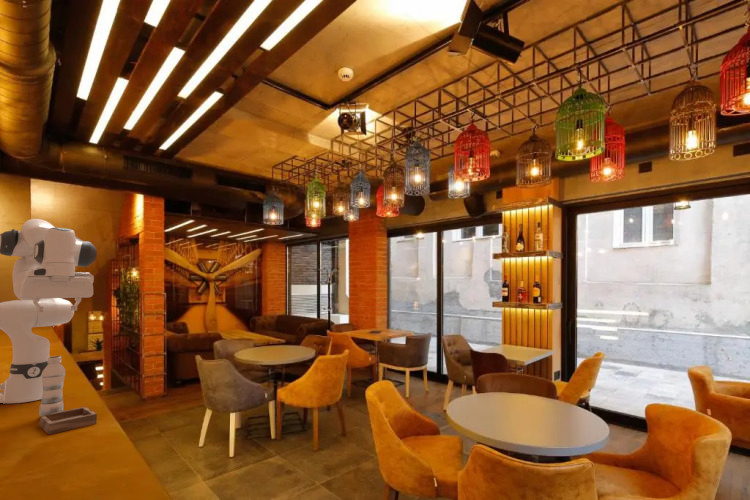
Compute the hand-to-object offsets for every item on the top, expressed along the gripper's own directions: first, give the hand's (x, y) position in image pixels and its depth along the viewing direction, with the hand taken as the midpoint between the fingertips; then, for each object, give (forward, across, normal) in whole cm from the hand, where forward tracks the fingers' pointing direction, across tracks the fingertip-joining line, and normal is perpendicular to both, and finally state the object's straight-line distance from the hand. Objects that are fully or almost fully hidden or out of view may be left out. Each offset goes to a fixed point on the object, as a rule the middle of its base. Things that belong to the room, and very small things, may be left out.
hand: (57, 311), depth 136 cm
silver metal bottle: (+36, 0, -1) cm, 36 cm away
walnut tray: (+36, -2, +13) cm, 39 cm away
